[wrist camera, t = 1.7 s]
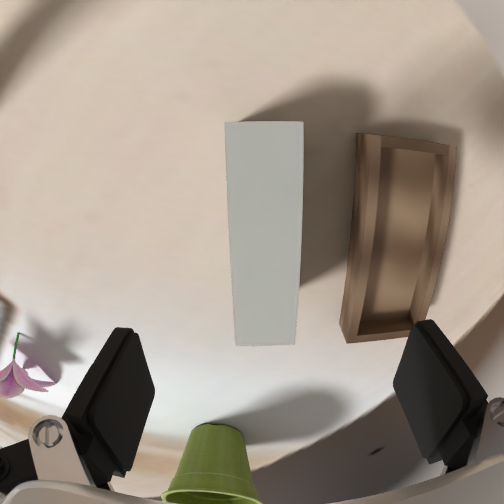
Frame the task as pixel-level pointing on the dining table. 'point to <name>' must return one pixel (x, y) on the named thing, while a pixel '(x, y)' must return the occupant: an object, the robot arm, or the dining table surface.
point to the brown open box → (395, 234)
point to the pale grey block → (265, 228)
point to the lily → (18, 380)
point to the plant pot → (213, 469)
